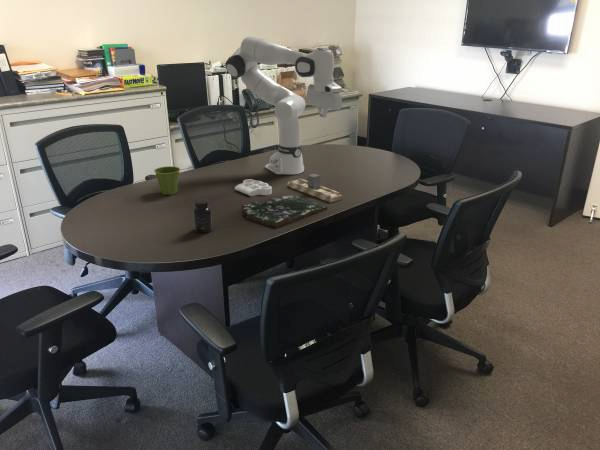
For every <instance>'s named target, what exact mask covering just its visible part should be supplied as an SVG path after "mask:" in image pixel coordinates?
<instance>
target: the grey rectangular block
mask: <svg viewBox="0 0 600 450" xmlns="http://www.w3.org/2000/svg"><path fill="white" fill-rule="evenodd" d="M307 181H308V187H309V188H312V189H317V188H320V186H321V175H320V174H316V173H310V174H308V175H307Z"/></svg>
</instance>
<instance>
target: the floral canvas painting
mask: <svg viewBox="0 0 600 450" xmlns="http://www.w3.org/2000/svg"><path fill="white" fill-rule="evenodd" d="M241 209H242V210H243V211H241V217H242V218H243V217H244V218H245V219H246V221H252V222H256V223H259V224H260V225H264V226H266V227H273V228H275V229H278V228H280V227H283V226H285V225H288V224H291V223H294V222H297V221H300V220H302V219H305V218H308V217H310V216H312V215H315V214H318V213H321V212H324V211H325V210H328V206H326V205H323V204H321V203H319V202H315V201H312V200H310V199H306V198H303V197H300V196H298V195H294V194H291V193H290V194H288V195H282V196H278V197H274V198H270V199H267V200H263V201H255V202H250V203H247V204H244V205H241Z"/></svg>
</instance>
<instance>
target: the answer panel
mask: <svg viewBox="0 0 600 450" xmlns="http://www.w3.org/2000/svg"><path fill="white" fill-rule="evenodd" d="M287 187H289V188H291V189H294V190H297V191H299V192H301V193H305V194H306V195H308V196H309V195H310V196H312V197H314V196H315V197H314V198H318V199H320V200H322V201H325V202H327V203H334V202H337V201H341V200H343V199H342V198H343V195H342V194H341V192H338V191H336V190H334V189H330V188H328V187H326V186H322V185H320V188H317V189H312V188H309V187H308V180H306V179H303V178H300V177H299V178H298V179H296V180H289V181H288V182H287Z"/></svg>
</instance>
